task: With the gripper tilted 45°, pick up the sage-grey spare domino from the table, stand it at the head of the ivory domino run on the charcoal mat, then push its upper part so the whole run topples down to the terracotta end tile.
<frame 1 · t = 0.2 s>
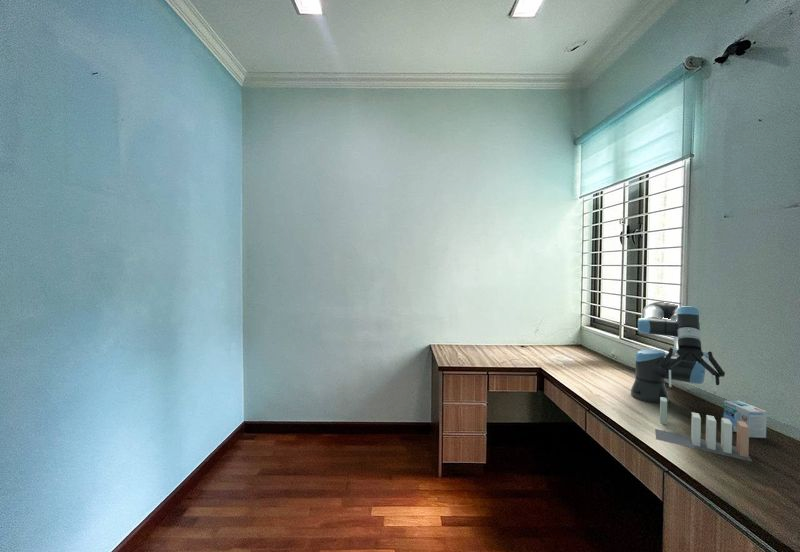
hand: (691, 389, 136), 15 cm above the table, tool tilted 35°, fingers open, 13 cm apart
light bulb box: (743, 433, 131), on the table
domino 1: (695, 442, 122), point 1 cm above the table, touching domino mat
spare domino: (663, 423, 139), on the table
end domino: (742, 453, 115), point 1 cm above the table, touching domino mat
domino 2: (710, 446, 120), point 1 cm above the table, touching domino mat
domino 3: (726, 449, 117), point 1 cm above the table, touching domino mat
domino mat: (699, 445, 121), on the table
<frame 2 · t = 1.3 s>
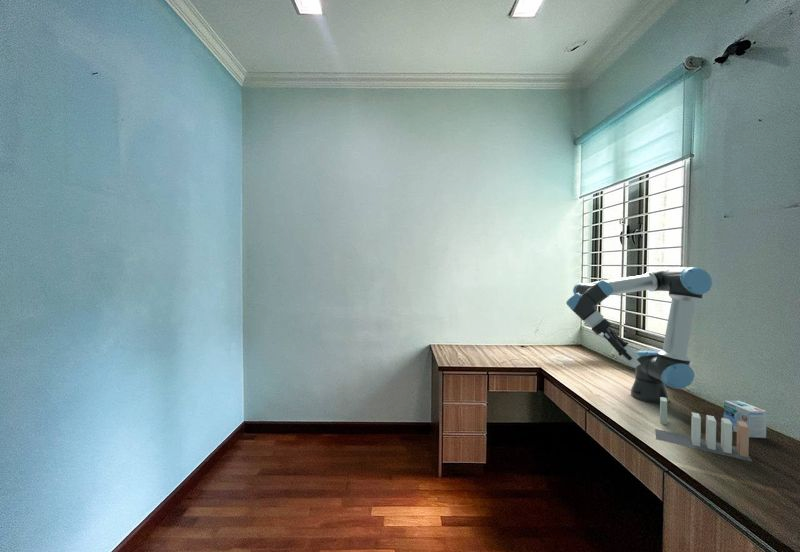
hand: (637, 362, 144), 24 cm above the table, tool tilted 45°, fingers open, 13 cm apart
nothing on the table moved.
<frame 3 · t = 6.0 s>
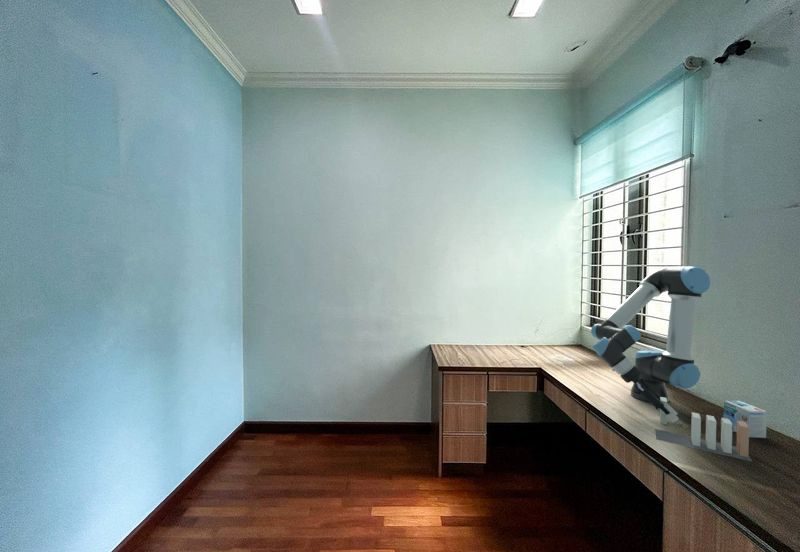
hand: (675, 417, 137), 3 cm above the table, tool tilted 45°, fingers closed on spare domino, 5 cm apart
spare domino: (663, 423, 139), on the table, touching gripper
everything else where it was.
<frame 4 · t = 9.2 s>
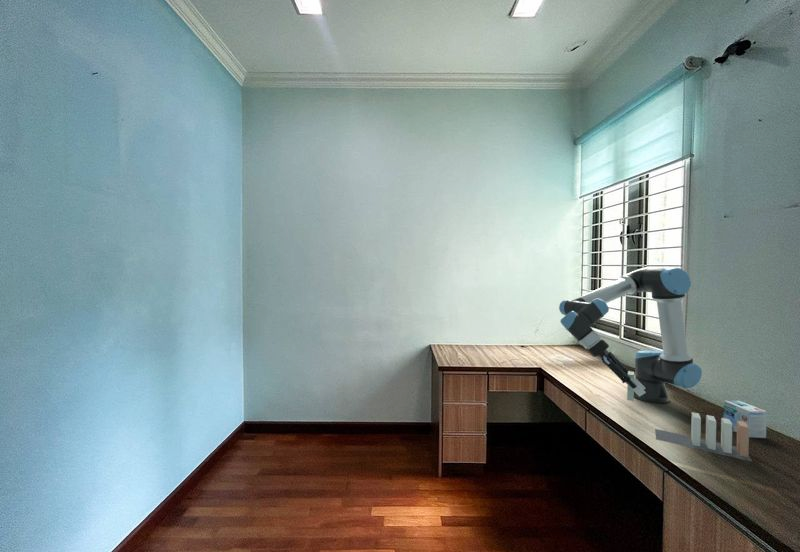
hand: (642, 392, 131), 16 cm above the table, tool tilted 45°, fingers closed on spare domino, 5 cm apart
spare domino: (630, 398, 133), point 12 cm above the table, touching gripper
everything else where it was.
when the fingers open (6 cm above the table, at t = 12.4 s): spare domino drops 1 cm, resting on domino mat.
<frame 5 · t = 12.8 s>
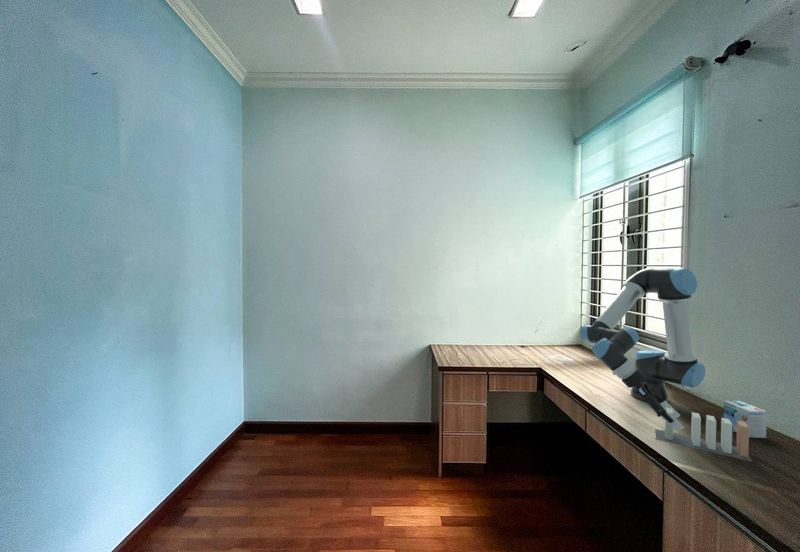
hand: (678, 423, 125), 7 cm above the table, tool tilted 45°, fingers open, 11 cm apart
spare domino: (668, 436, 126), point 1 cm above the table, touching domino mat
everything else where it was.
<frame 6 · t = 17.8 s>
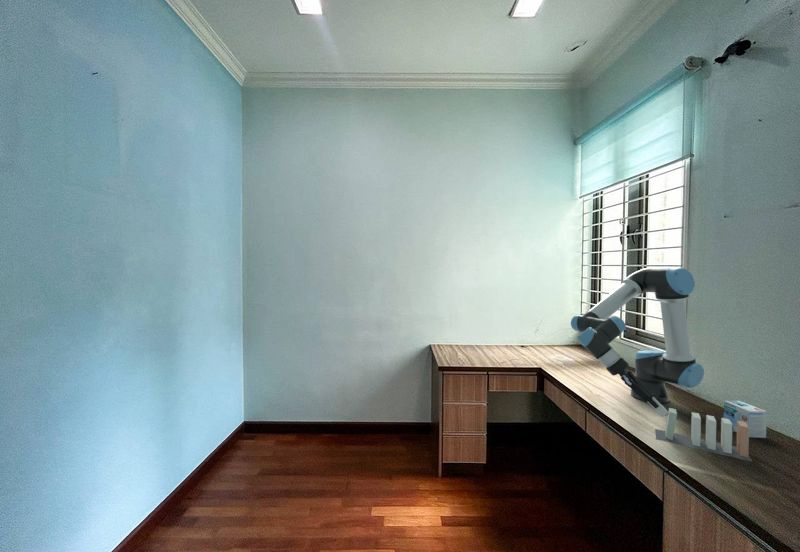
hand: (664, 413, 127), 9 cm above the table, tool tilted 45°, fingers closed
spare domino: (668, 436, 126), point 1 cm above the table, tilted 6°, touching domino mat, gripper
everything else where it was.
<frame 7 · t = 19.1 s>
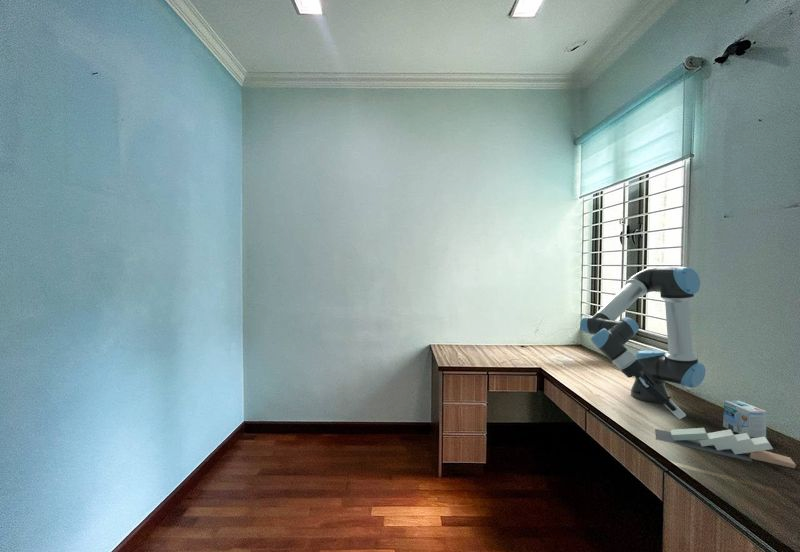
hand: (682, 416, 124), 9 cm above the table, tool tilted 45°, fingers closed
domino 1: (699, 440, 121), point 2 cm above the table, tilted 62°, touching domino 2, spare domino
spare domino: (672, 435, 126), point 2 cm above the table, tilted 71°, touching domino 1, domino mat
end domino: (748, 451, 114), point 2 cm above the table, tilted 95°, touching domino 3, domino mat
domino 2: (714, 444, 119), point 2 cm above the table, tilted 62°, touching domino 1, domino 3, domino mat
domino 3: (731, 448, 117), point 2 cm above the table, tilted 62°, touching domino 2, end domino
everything else where it was.
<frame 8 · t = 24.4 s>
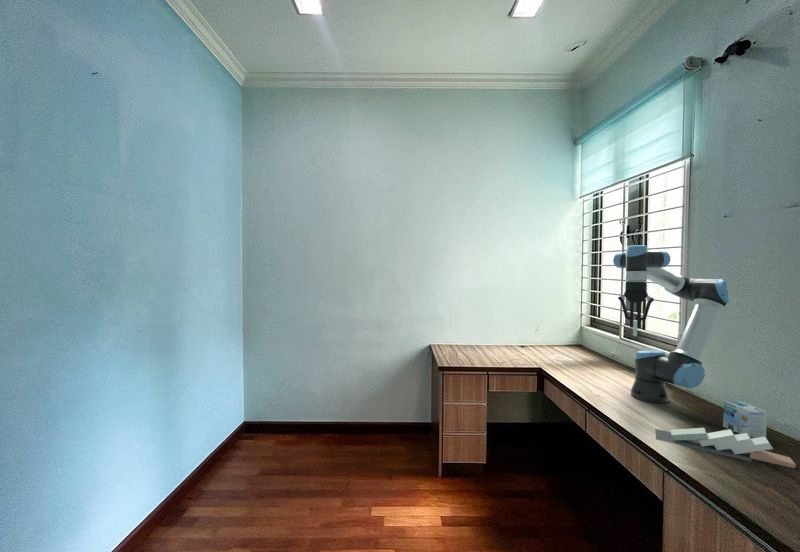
hand: (635, 335, 148), 34 cm above the table, tool pointing down, fingers closed
nothing on the table moved.
at the end: end domino tilted 95°; spare domino tilted 71°; spare domino inside the target area (2.1 cm from its centre), point 1.7 cm above the table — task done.
